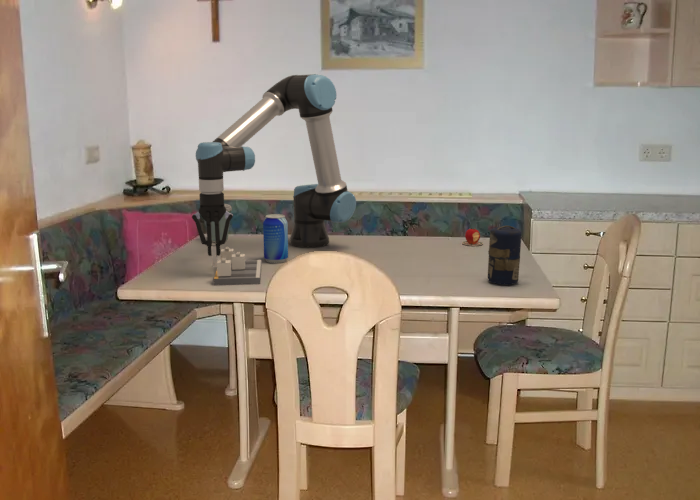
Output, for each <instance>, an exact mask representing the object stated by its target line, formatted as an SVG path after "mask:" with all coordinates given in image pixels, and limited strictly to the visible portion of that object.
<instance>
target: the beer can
mask: <svg viewBox="0 0 700 500" xmlns="http://www.w3.org/2000/svg"><path fill="white" fill-rule="evenodd" d="M262 225H263V226H262V227H263V228H262V231H263V259H264V260H265V262H266V263H269V264H283V263H286V262H287V260H288V258H289V235H288V234H289V232H288V231H289V230H288V229H289V227H288V220H287V219H286V216H285V214H282V213H281V214H278V213H273V214H267V215H265V218H264V220H263V222H262Z"/></svg>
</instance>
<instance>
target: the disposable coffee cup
mask: <svg viewBox="0 0 700 500" xmlns="http://www.w3.org/2000/svg"><path fill="white" fill-rule="evenodd" d="M224 206H225V208H226V211H227V212H229V213H232V210H233V208H232V206H231V204H228V203H224ZM225 222H226V218H225V214H224V215H223V217H222V218H221V220H220V221H219V228H220V240H222V237H223V232H224V227H225ZM230 223H231V222H230ZM230 223H229V225H231V224H230ZM229 231H230V227H229V228H228V233H227V237H226V242H228V239H229ZM211 233H212V243H215V244H216V239H215V222H211Z"/></svg>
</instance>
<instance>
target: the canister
mask: <svg viewBox="0 0 700 500" xmlns="http://www.w3.org/2000/svg"><path fill="white" fill-rule="evenodd" d="M521 245H522V231H521V230H520V229H519V228H516V227H514V226H510V225H503V226H497V227H492V228H491V229H490V232H489V247H488V262H487V263H488V264H487V280H488V281H490V282H491V283H493V284H498V285H503V286H504V285H508V286H509V285H513V284H517V283H518V281H519V278H520V276H519V275H520V272H519V271H520V263H521V262H520V261H521V247H522V246H521Z"/></svg>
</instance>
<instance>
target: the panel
mask: <svg viewBox="0 0 700 500" xmlns="http://www.w3.org/2000/svg"><path fill="white" fill-rule="evenodd" d="M232 254H235V249H234V248H230V246H225V248H220V260H218V259H217V267H216V269H215V270H216V271H215V274H214V277H213V285H214V286H232V285H233V286H234V285H236V286H239V285H242V286H243V285H244V286H245V285H260V284H261V278H262V276H261V275H262V259H257V260H256V259H255V260H254V259H251V260H249V259H248V260H247V259H245V269H238V270H232Z"/></svg>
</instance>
